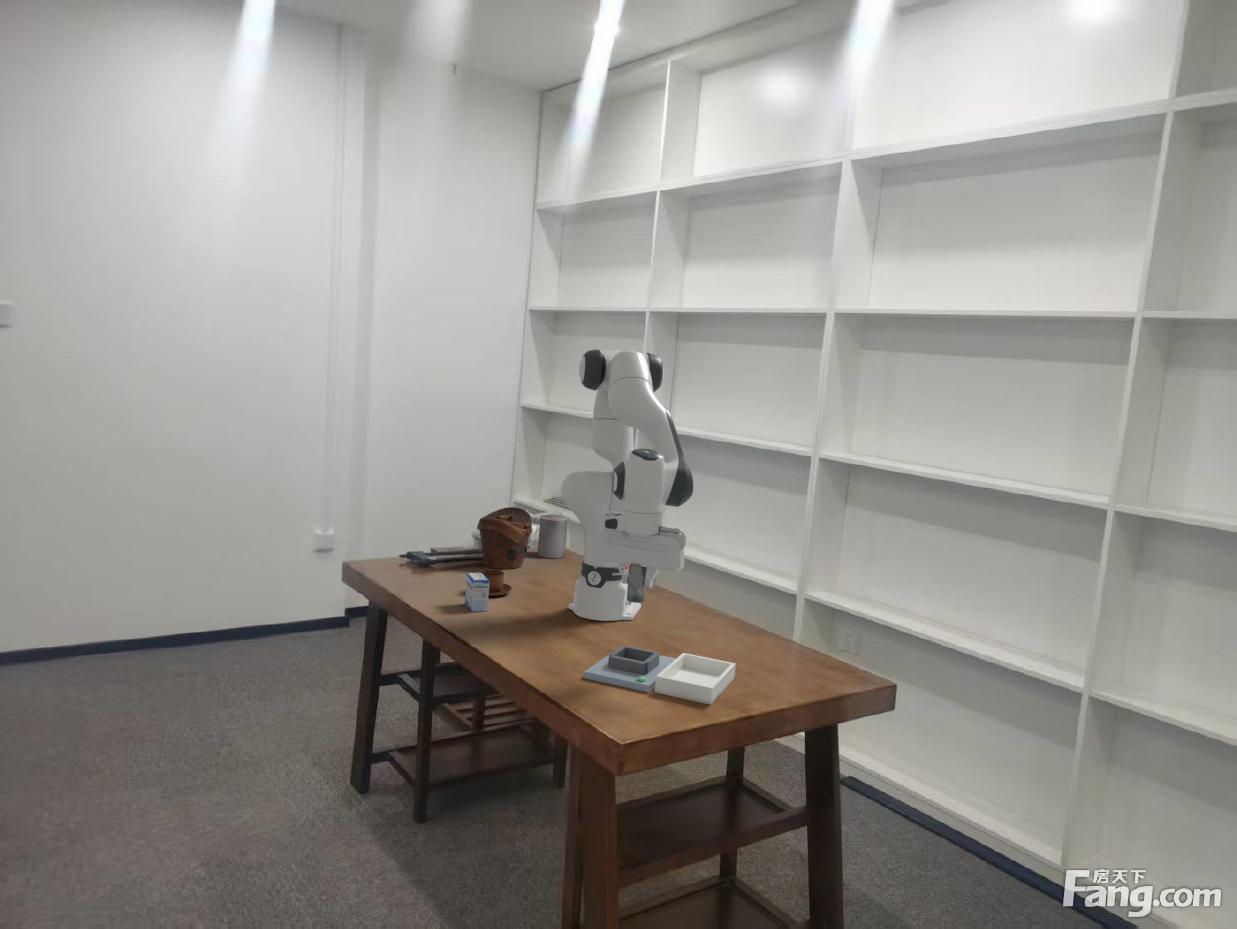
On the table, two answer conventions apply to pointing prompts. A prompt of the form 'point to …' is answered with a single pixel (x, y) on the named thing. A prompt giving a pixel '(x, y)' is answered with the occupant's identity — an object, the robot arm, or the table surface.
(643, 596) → the cell
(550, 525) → the pillar candle
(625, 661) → the tester cradle
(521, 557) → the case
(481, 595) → the medicine box
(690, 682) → the tray
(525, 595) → the table surface
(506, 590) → the cup and saucer
